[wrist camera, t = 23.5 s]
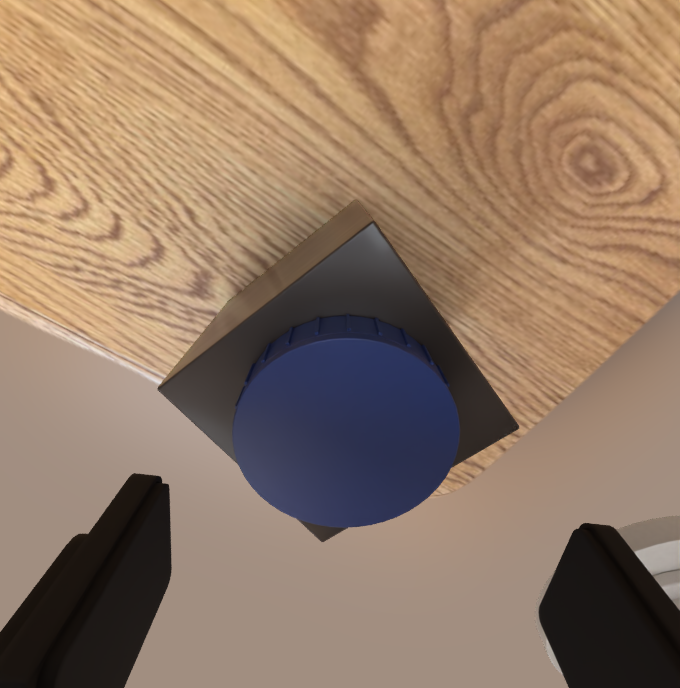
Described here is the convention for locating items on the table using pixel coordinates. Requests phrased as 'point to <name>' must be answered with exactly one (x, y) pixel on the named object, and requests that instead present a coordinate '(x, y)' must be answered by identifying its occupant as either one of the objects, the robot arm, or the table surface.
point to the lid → (345, 423)
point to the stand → (326, 301)
